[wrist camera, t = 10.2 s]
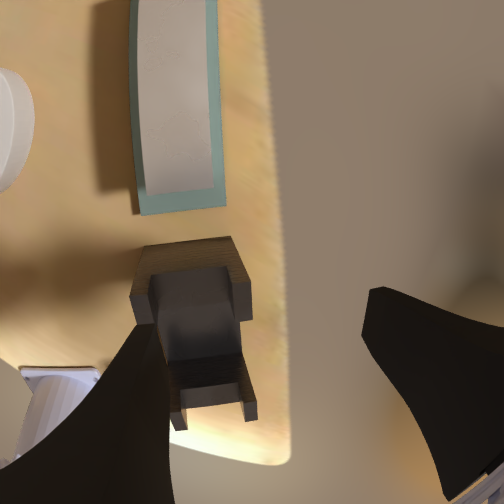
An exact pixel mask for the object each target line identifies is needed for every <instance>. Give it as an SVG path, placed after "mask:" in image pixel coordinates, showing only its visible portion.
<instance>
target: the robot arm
mask: <svg viewBox="0 0 504 504" xmlns="http://www.w3.org/2000/svg"><path fill="white" fill-rule="evenodd" d="M361 336H362V338H363V340H364V341H365V344H366V345H367V348H368V349H369V351H370V353H371V355H372V357H373V358H374V359H375V361H376V362H377V364H378V365H379V366H380V368H381V369H382V371H383V372H384V373H385V375H386V376H387V377H388V379H389V380H390V381H391V383H392V384H393V385H394V387H395V388H396V389H397V391H398V392H399V394H400V395H401V396H402V398H403V399H404V401H405V402H406V404H407V405H408V407H409V408H410V410H411V412H412V414H413V416H414V418H415V420H416V421H417V423H418V425H419V427H420V429H421V431H422V434H423V436H424V438H425V440H426V442H427V444H428V447H429V449H430V452H431V454H432V457H433V460H434V463H435V465H436V469H437V472H438V475H439V479H440V482H441V486H442V491H443V494H444V496H445V497H446V499H447V500H448V501H451V500H452V499H454V498H455V497H457V496H458V495H459V494H461V493H462V492H463V491H465V490H466V489H467V488H468V487H470V486H471V485H473V484H474V483H475V482H476V481H478V480H479V479H480V478H481V477H482V476H484V475H485V474H486V473H487V475H488V477H486V478H485V479H484V480H483V481H482V482H480V483H479V484H478V485H477V486H475V487H474V488H473V489H472V490H470V491H469V492H468V493H467V494H465V495H464V496H463V497H461V498H460V499H458V500H457V501H456V502H454V503H453V504H481V503H483V502H484V501H485V500H486V499H487V498H488V497H489V498H488V504H504V327H498V326H493V325H489V324H485V323H482V322H478V321H475V320H471V319H468V318H465V317H462V316H459V315H456V314H454V313H451V312H448V311H445V310H443V309H441V308H438V307H436V306H433V305H431V304H428V303H426V302H424V301H421V300H419V299H416V298H414V297H412V296H409V295H407V294H404V293H402V292H399V291H396V290H394V289H391V288H387V287H378V288H374V289H370V291H369V297H368V303H367V308H366V313H365V319H364V324H363V329H362V334H361ZM20 373H21V375H22V376H23V378H24V380H25V381H26V383H27V385H28V386H29V388H30V389H31V391H32V392H33V397H32V399H31V402H30V405H29V407H28V410H27V413H26V416H25V419H24V422H23V425H22V428H21V431H20V434H19V438H18V441H17V444H16V448H15V452H14V455H13V458H12V460H11V461H10V462H9V461H8V460H6V459H5V458H1V460H0V504H175V501H174V495H173V489H172V483H171V475H170V466H169V465H170V464H169V431H170V384H169V371H168V367H167V364H166V361H165V357H164V354H163V350H162V347H161V343H160V339H159V336H158V332H157V328H156V324H155V323H151V324H141V325H136V326H135V327H134V329H133V330H132V332H131V333H130V335H129V336H128V338H127V339H126V341H125V342H124V344H123V345H122V347H121V348H120V350H119V351H118V353H117V354H116V356H115V357H114V359H113V360H112V362H111V363H110V365H109V366H108V368H107V369H106V370H105V372H104V373H103V375H102V376H101V375H100V372H99V371H98V370H97V369H95V368H22V369H21V371H20ZM96 378H97V379H96Z"/></svg>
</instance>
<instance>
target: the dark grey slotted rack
mask: <svg viewBox="0 0 504 504" xmlns="http://www.w3.org/2000/svg"><path fill="white" fill-rule="evenodd" d="M129 297H130V301H131V305H132V308H133V312H134V315H135V319H136V322H137V325H141V324H151V323H155V324H156V328H157V325H158V329H159V332H160V336H161V340H162V344H163V347H164V351H165V354H166V358H167V361H168V366H167V367H168V371H169V384H170V419H171V422H172V424H173V427H174V429H175V431H181V430H188V425H187V414H186V409H188V408H197V407H206V406H213V405H220V404H227V403H234V402H240V404H241V408H242V412H243V416H244V420H245V422H249V421H254V420H258V415H257V400H256V397H255V394H254V390H253V387H252V384H251V380H250V377H249V374H248V370H247V367H246V364H245V360H244V357H243V353H242V345H241V333H240V322H242V321H248V320H253V315H252V294H251V280H250V278H249V276H248V274H247V271H246V269H245V267H244V265H243V262H242V260H241V258H240V256H239V253H238V251H237V249H236V247H235V244H234V242H233V240H232V238H231V236H227V237H218V238H209V239H201V240H192V241H184V242H175V243H167V244H159V245H151V246H144V249H143V252H142V255H141V258H140V262H139V265H138V268H137V271H136V275H135V278H134V281H133V285H132V288H131V292H130V295H129Z"/></svg>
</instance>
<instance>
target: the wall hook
mask: <svg viewBox="0 0 504 504" xmlns="http://www.w3.org/2000/svg"><path fill="white" fill-rule="evenodd" d="M33 133H34V105H33V100H32V96H31V93H30V90H29V88H28V86H27V84H26V83H25V81H24V80H23V79H22V78H21V77H20V76H19V75H18V74H17V73H15V72H14V71H11V70H8V69H5V68H1V67H0V194H1V193H2V192H4V191H5V190H6V189H7V188H9V187H10V186H11V184H12V183H13V182H14V181H15V180H16V178H17V177H18V175H19V174H20V172H21V170H22V168H23V166H24V164H25V162H26V160H27V157H28V154H29V151H30V148H31V144H32V139H33Z"/></svg>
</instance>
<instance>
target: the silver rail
mask: <svg viewBox="0 0 504 504" xmlns="http://www.w3.org/2000/svg"><path fill="white" fill-rule="evenodd" d="M137 66H138V100H139V118H140V133H141V145H142V156H143V166H144V175H145V184H146V192H147V196H150V195H157V194H165V193H173V192H181V191H190V190H199V189H208V188H214V184H213V169H212V154H211V138H210V120H209V101H208V78H207V50H206V6H205V0H139V7H138V38H137Z"/></svg>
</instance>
